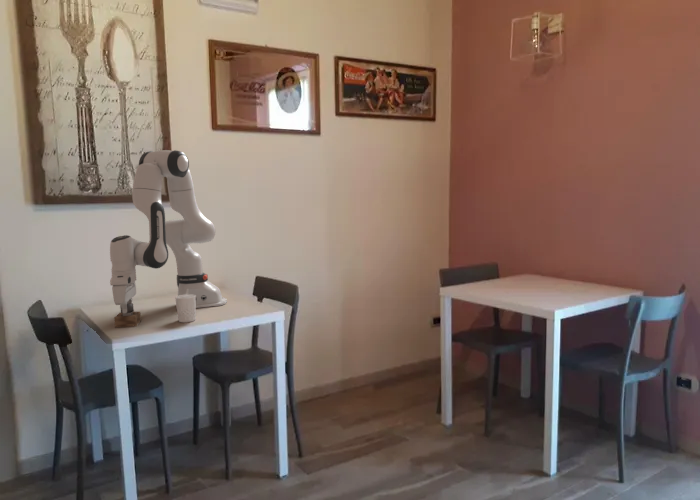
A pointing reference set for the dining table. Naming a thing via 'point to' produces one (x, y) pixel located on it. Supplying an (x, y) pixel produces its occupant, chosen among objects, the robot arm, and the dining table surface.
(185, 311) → the white cup
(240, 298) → the dining table surface
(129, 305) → the knob
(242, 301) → the dining table surface
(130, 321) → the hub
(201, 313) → the dining table surface
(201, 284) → the robot arm
